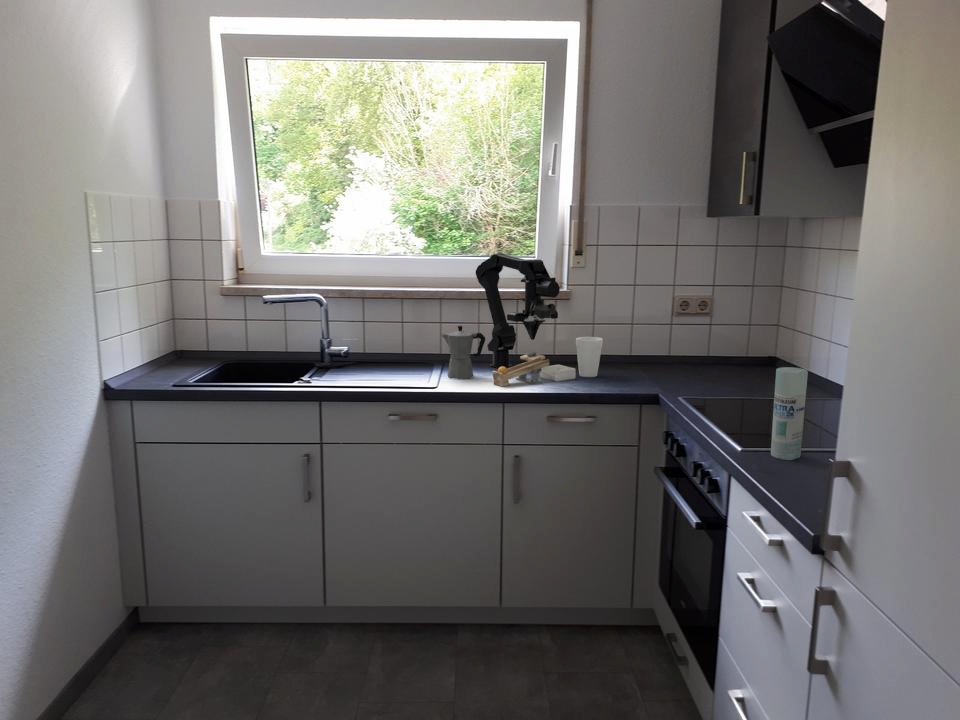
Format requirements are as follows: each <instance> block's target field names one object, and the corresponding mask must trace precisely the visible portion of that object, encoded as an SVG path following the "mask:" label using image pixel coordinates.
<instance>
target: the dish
mask: <svg viewBox="0 0 960 720" xmlns="http://www.w3.org/2000/svg"><path fill="white" fill-rule="evenodd" d="M576 370H577V369H576V368H574V367H570V366H566V365H562V364H554V365H548V366H545V367H543V368H540V371H539V378H542V379H545V380H549V381H553V382H561V381H568V380H575V379H576Z"/></svg>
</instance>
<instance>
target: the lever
mask: <svg viewBox="0 0 960 720" xmlns="http://www.w3.org/2000/svg"><path fill="white" fill-rule="evenodd" d="M519 357H520V358H519V359H520V360H523V361H526V362H523V363H519V364H516V365H514V366H513V365H512V367H507V368H506V369H507V374H504V375H503V373H500V372H498V370H497V371H496V370H492V377H493V380H492V381H493V385H496V386H498V387H506V386H509V385H510V382H509V380H511V379H514V378H518V377H519V376H520V375H523V374H526V375H527V374H528V373H531V372H532V373H539V372H538V370H541V368H543V367H545V366H551V365H550V359H549V358H548V359H546V356H545V355H543V354H539V353H537V352H533V351H532V352H529V353H527V354H524V355H521V356H519Z"/></svg>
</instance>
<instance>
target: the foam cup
mask: <svg viewBox="0 0 960 720" xmlns="http://www.w3.org/2000/svg"><path fill="white" fill-rule="evenodd" d="M603 340H604V339H603V337H598V336H579V337H576V338H575V348H576V355H577V358H576V359H577V367H578V373H579V377H583V378H585V377H586V378H594V377H597V376H598V373H599V372H598V371H599V366H600V361H601V360H600V359H601V353H602V348H603Z"/></svg>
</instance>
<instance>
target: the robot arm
mask: <svg viewBox="0 0 960 720" xmlns="http://www.w3.org/2000/svg"><path fill="white" fill-rule="evenodd" d="M504 267H505V268H509V269H512V270H513V269H514V270H516V271H518V272H519V273H520V274H521V275H523V276H524V277H523V278H522V279H521V280H520V282H521V283H524V297H523V298H522V302H524V309H522V312H519V311H509V312H508V313H507V315H506V314H505V310H504V305H503V302H502V299H501V295H500V291H499V290H500V289H499V287H498V284H499V281H500V273H501V272H502V271H503V269H504ZM475 277H476V279H477V282H478V284H479V285H480V286H481V287H482V288H483V289H484V292H485V295H486V299H487V303H488V308H489V312H490V315H491V319H492V323H493V327H492V330H491V331H492V332H491V338H492V339H491V340H490V341H489V343H487V350H488V351H489V352H492V364H491V363H490V364H489V367H492V366H493V367H492V368H495V367H496V369H499V367H501V366H504V367H506V368H511V367H513V365H512V364H510V351H513V350H514V348H515V344H516V341H517V337H516V336H517V333H516V329H515V326H514V324H512V325H510V324H509V323H508V322H507V321H511V322H514V323H515V322H516V323H517V322H519V323H520V322H522V324H523V326H524V328H525V330H526V331H527V334H528V336H529V338H530V340H532V341H534V340H535V339H536V335H537V334H538V330H539V328H540V326H541V325H542V324H543V323H544V322H546V319H552V320H555V319H559V313H558V311H557V310H556V305H555V303H548V304H545V299H544V298H552V299H553V298H556V297H558V295H559V293H560V290H561V289H560V285H559V283H558V281H556V280H557V279H556V277H551V276H550V274H549V272H548V270H547V268H546V266H545V264H544V261H543V260H542V259H525V258H521V257H516V256H512V255H508V254H506V253H504V252H501V253H500V252H499V253H498V252H497V253H493V254H492V255H491V256H490V257H488V258H487V259H485V260H484V261H482V262H481V263H480V264H479V265H478V266H477V267H476V269H475ZM542 297H544V298H542Z"/></svg>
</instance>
